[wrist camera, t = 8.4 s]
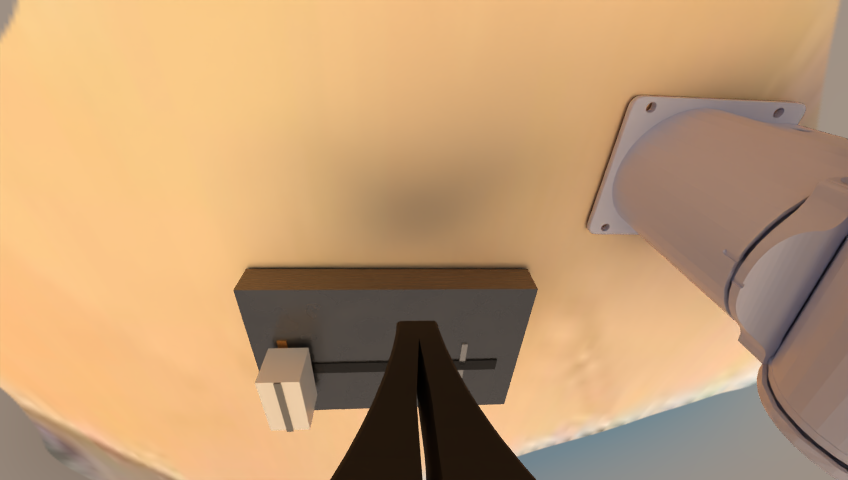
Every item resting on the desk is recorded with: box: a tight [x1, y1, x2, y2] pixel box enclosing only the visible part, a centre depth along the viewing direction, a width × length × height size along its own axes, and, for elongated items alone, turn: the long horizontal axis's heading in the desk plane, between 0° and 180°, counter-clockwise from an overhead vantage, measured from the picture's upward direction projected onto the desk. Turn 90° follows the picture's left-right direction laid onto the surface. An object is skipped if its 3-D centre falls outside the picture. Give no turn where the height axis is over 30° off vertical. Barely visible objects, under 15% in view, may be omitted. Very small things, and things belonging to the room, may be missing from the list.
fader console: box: [234, 269, 538, 410], centre depth 25 cm, size 18×12×2 cm, turn 87°
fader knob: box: [255, 348, 317, 432], centre depth 23 cm, size 2×5×3 cm, turn 177°
